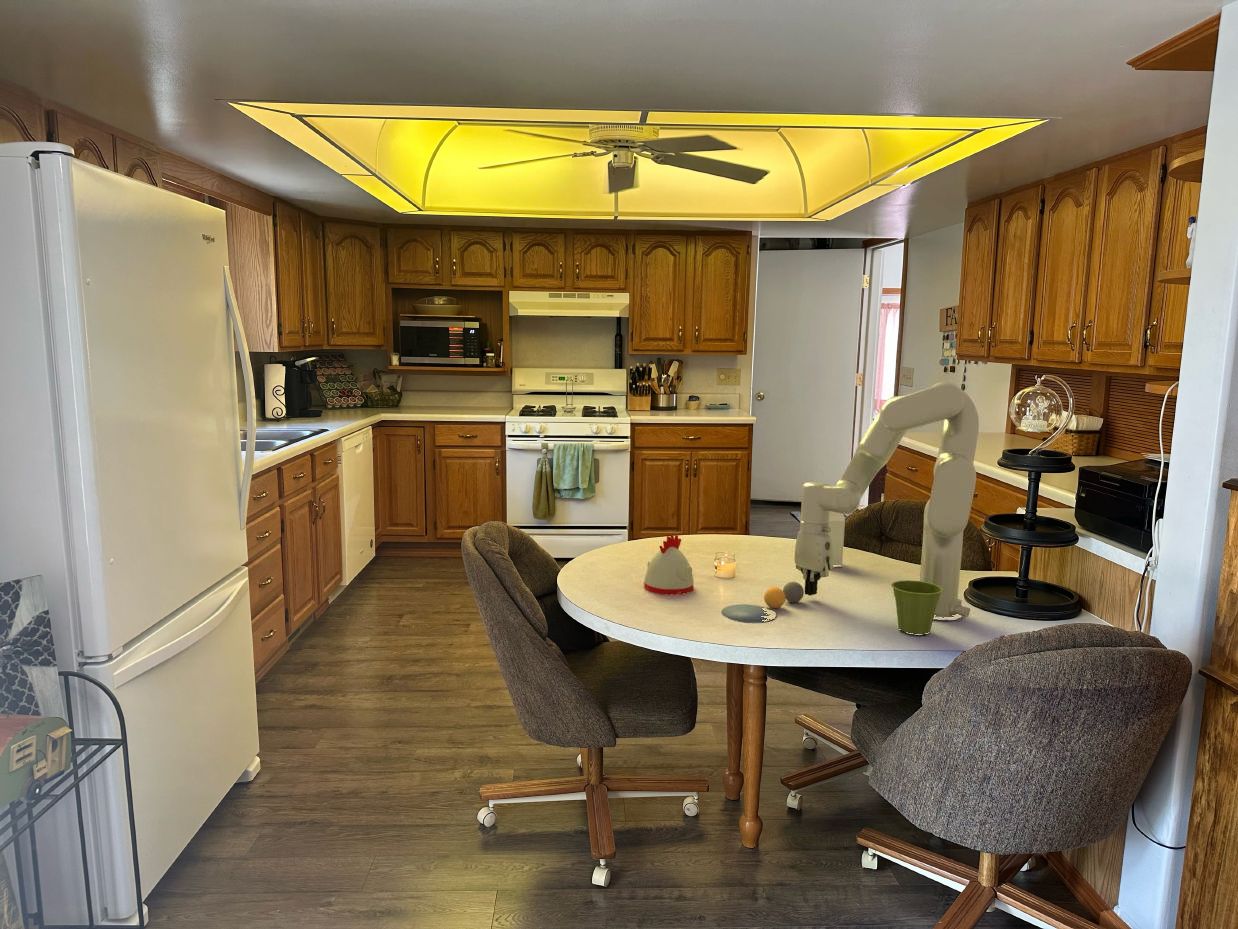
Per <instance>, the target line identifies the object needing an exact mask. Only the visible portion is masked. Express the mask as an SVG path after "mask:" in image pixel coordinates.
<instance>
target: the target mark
mask: <svg viewBox="0 0 1238 929" xmlns="http://www.w3.org/2000/svg"><path fill="white" fill-rule="evenodd" d="M762 608H765V606H762V605H756V604H745V603H744V604H732V605H727V606H726V607H723V608H722V609H721V614H722V615H723V616H724V617H725V616H726V617H725V618H727V617H728V618H727V619H729V618H730V619H729V620H732V619H733V621H736V620H737V622H741V621H742V623H749V622H762V623H765V622H764V621H762V620H766V619H767V618H764V617H761V616H769V615H770V614H769V615H768V614H767V613H764V612H767V611H764V610H763V609H762ZM766 614H767V615H766ZM767 620H768V619H767ZM769 620H770V619H769Z"/></svg>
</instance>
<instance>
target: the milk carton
mask: <svg viewBox="0 0 1238 929" xmlns="http://www.w3.org/2000/svg"><path fill="white" fill-rule="evenodd" d="M845 523H846V518H845V514H841V513H836V512H832V511H830V518H829V527H830V528H831V532H829V535H831V538H832V546H833V565H842V566H843V560H844V558H843V557H844V545H845V544H844V543H845V542H844V541H845V525H846V524H845Z"/></svg>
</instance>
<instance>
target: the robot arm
mask: <svg viewBox="0 0 1238 929" xmlns="http://www.w3.org/2000/svg"><path fill="white" fill-rule="evenodd" d="M939 421H941V422H942V428H941V430H942V431H941V434H940V441H939V442H940V443H939V447H938V452H937V457H936V461H935V464H934V467H933V482H932V488H931V492H930V496H929V497H930V498H929V499H928V500H927V502H926V504H925V507H924V513H923V532H922V533H923V534H922V547H921V559H920V560H921V561H920V571H919V572H920V573H919V581H923V582H928V583H932V584H936V585H938V586H940V587H942V588H943V592H942V593H940V596H939V600H938V602H937V605H936V609H935V613H934V615H936V616H935V617H942V618H944V617H954V616H952V615H956V614H959V615H961V616H963V617H964V618H968V617H969V616H970V613H971V607H967V606H963V605H962V601H963V600H962V599H959V590H960V588H959V586H960V576H961V575H960V574H961V564H962V554H963V543H964V541H963V540H964V531H965V529H966V527H967V526H968V522H969V519H970V514H971V509H972V504H973V499H974V496H975V495H974V494H975V488H976V483H977V471H976V468H975V466H974V462H975V461H974V460H975V455H976V450H977V444H978V443H977V442H978V437H979V431H980V428H979V427H980V422H979V421H980V418H979V414H978V410H977V408H976V406H975V403H974V402H973V400H972V398H971V397H970V396H969V394H968V393H966V392H965V391H964V390H963V389H961V388H960V387H959V386H958V385H956V384H955V383H953V382H951V381H940V382H937V383H935V384H933V385H932V386H931V387H928V388H925V389H921V390H918V391H916V392H915V391H914V392H912V393H909V394H905V395H903V396H900V395H899V396H898V395H897V396H895V395H894V396H891V397H888V399H887V400H885V402H884V403H883V404H882V406H881V407H880V409H879V410H878V412H877V414H876V416H875V417H874V418H873V421H872V422H871V424H869V425H870V426H869V427H868V429H867V431H866V432H865V433H864V435H863V437H862V438H861V440H860V442H858V443H859V444H858V445H857V447H856V449H855V452H854V455H853V456H852V458H851V460H850V462H849V463H848V464H847V466H846V467H845V470H844V472H843V473H842V475H841V476H840V478H839V480H838V481H837V483H836V484H835V486H834V485H833V486H831V485H830V484H829V483H826V482H824V481H823V482H822V481H808V482H807V481H806V482H805V483H804V484H803V485H802V490H801V507H800V509H801V510H800V523H799V524H800V525H799V526H800V527H799V531H798V532H797V536H796V542H795V549H794V564H795V569H797V570H798V571H800V572H801V574H802V578H803V580H804V594H805V595H807V596H809V597H810V596H814V595H817V594H818V584H819V583H818V581H820V580H821V578H828V577H829V575H830V574H829V571H831V570H833V568H834V567H833V546H832V538H831V535H829V532H831V528H830V527H829V518H830V511H832V512H836V513H841V514H844V515H849V514H852V513H854V512H856V511H857V509H858V508H859V506H860V504H861V500H862V497H863V496H864V495H865V492H866V491H867V489H868V488H869V486H870V484H871V483H872V481H873V480H874V478H875V477H876V475H877V474H878V473H879V472H880V470H881V469H882V468H883V467H885V465H886V464H887V463H888V462H889V461H890V459H891V458H892V456H893V454H894V452H895V451H896V449H897V448H898V446H899V444H900V443H901V441H902V440H903V438H904V437H905V434H906V433H907V432H908V431H909V430H912V429H917V428H920V427H925V426H927V425H930V424H933V423H936V422H937V423H938V422H939Z"/></svg>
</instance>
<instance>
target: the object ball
mask: <svg viewBox="0 0 1238 929" xmlns="http://www.w3.org/2000/svg"><path fill="white" fill-rule="evenodd" d="M763 600H764V603H765V605H767V607H769V608H770V609H779V608H781V607H783V605H784V604H785V602H786V599H785V594H784V592H783V589H781V588H780V587H777V586H776V587H775V586H772V587H770V588H767V589H766V590H765V592H764V595H763Z"/></svg>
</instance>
